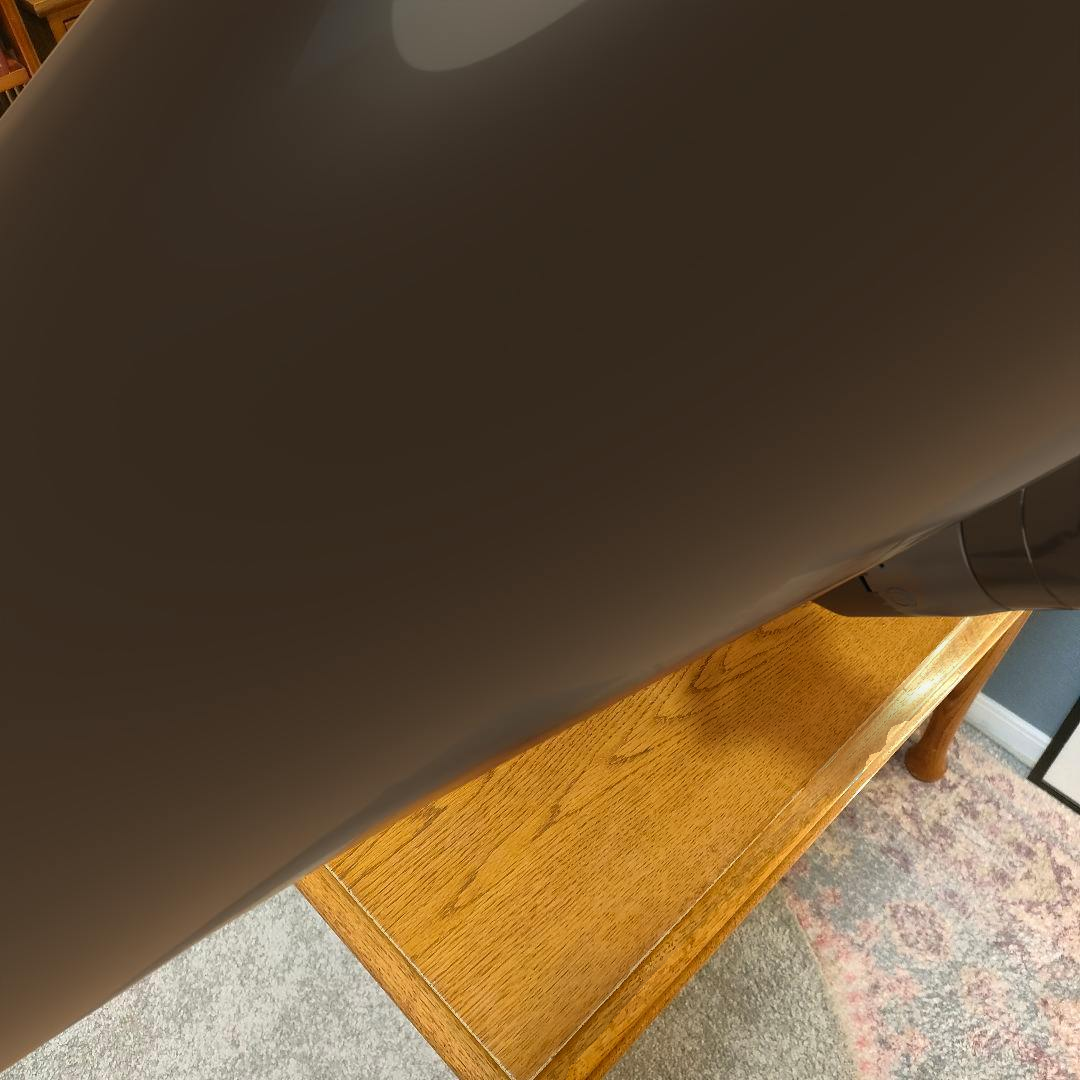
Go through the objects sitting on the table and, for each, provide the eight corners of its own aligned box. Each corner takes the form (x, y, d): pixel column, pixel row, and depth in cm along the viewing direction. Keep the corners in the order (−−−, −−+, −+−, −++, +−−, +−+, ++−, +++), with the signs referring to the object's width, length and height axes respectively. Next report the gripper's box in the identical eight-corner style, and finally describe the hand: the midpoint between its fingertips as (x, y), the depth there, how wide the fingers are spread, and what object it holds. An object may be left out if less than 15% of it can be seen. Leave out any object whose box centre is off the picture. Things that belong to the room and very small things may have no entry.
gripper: (958, 390, 45) (718, 447, 60) (801, 552, 40) (579, 570, 55) (1023, 519, 47) (774, 543, 62) (882, 692, 41) (645, 672, 56)
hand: (683, 556), depth 58 cm, fingers closed
